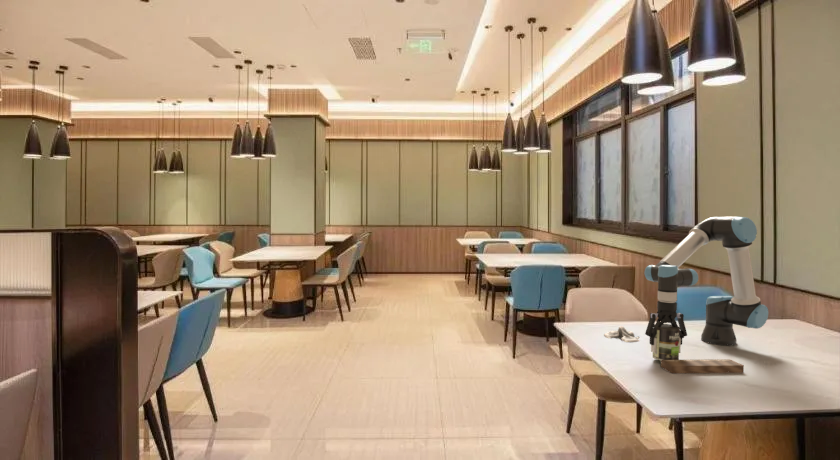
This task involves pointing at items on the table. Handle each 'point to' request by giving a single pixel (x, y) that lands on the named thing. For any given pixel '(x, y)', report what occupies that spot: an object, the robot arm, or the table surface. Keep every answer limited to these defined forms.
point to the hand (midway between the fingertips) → (665, 352)
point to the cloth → (622, 335)
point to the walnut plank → (702, 366)
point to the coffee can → (667, 342)
